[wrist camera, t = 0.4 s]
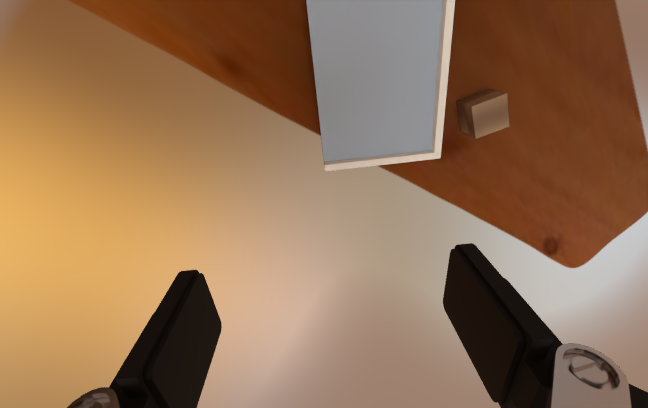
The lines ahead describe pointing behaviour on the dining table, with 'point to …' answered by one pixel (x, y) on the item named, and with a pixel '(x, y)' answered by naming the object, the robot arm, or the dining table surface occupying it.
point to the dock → (380, 79)
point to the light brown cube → (483, 113)
